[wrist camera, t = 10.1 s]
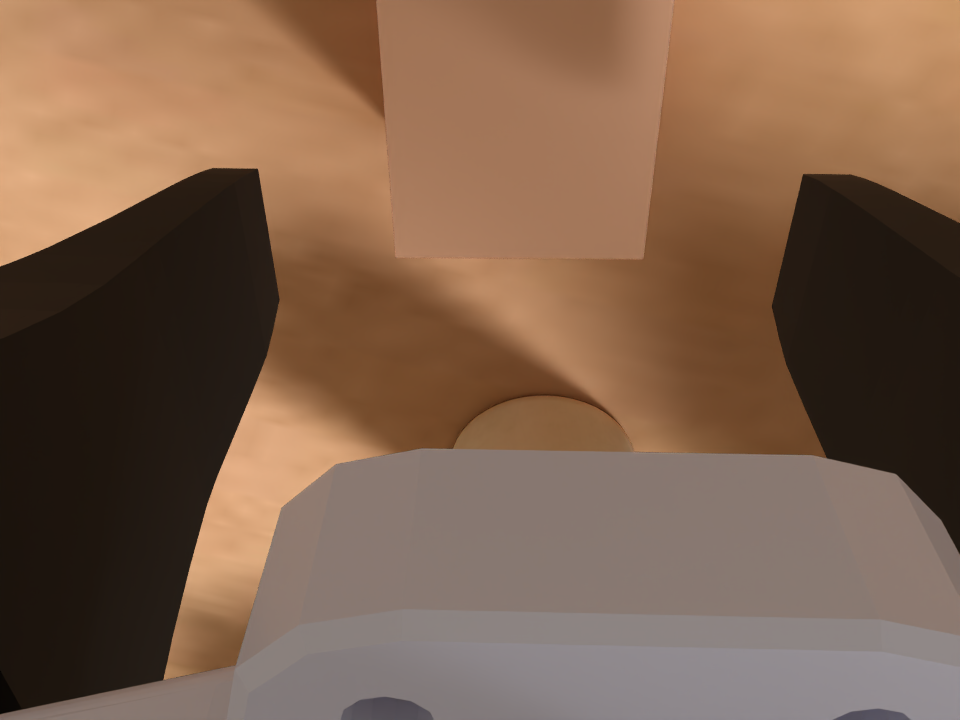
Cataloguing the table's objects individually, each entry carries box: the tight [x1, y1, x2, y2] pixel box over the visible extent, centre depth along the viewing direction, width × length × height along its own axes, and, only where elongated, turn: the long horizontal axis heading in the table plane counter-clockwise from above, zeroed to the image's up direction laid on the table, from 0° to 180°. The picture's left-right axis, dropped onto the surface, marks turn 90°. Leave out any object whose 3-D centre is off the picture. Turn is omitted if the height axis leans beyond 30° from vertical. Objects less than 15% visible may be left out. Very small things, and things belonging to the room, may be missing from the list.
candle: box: [453, 395, 634, 452], centre depth 21 cm, size 6×6×10 cm
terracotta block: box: [376, 0, 675, 259], centre depth 16 cm, size 4×4×5 cm
